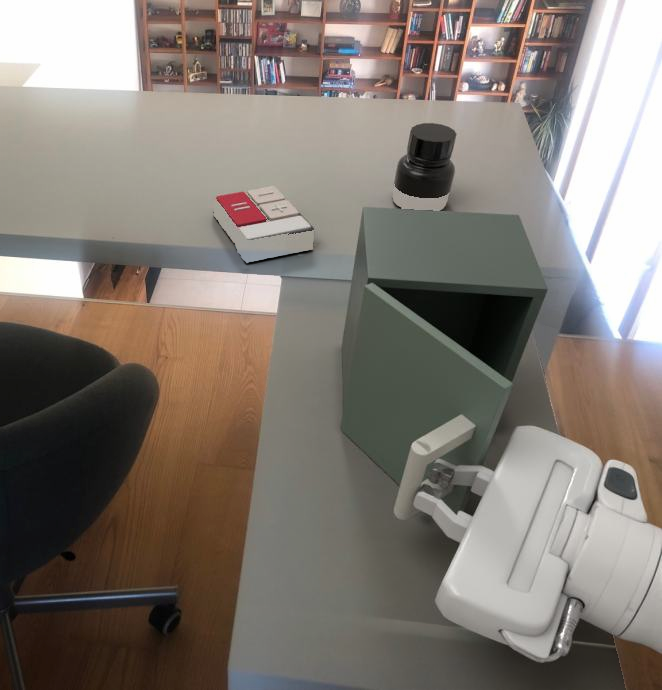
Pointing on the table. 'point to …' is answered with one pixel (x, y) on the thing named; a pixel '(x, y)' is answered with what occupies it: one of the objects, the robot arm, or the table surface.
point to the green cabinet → (451, 279)
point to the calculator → (271, 205)
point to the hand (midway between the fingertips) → (424, 481)
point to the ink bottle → (427, 162)
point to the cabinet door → (418, 400)
